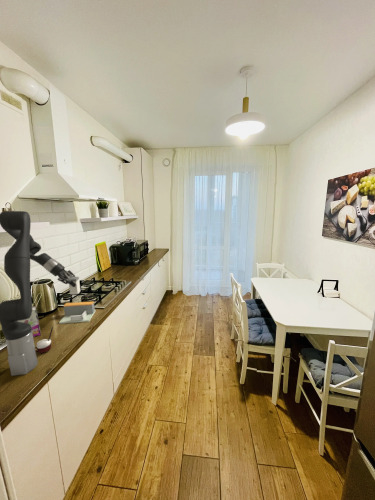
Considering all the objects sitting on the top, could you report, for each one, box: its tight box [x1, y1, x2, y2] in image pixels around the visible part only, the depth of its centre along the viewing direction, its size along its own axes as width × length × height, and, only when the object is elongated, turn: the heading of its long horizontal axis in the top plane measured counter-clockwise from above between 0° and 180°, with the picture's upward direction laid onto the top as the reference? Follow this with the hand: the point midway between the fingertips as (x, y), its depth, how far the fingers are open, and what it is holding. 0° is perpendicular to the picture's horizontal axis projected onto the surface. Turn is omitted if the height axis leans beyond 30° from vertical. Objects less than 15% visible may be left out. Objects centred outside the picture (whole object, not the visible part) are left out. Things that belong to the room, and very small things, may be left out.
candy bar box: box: [18, 306, 42, 338], centre depth 116 cm, size 11×5×16 cm, turn 129°
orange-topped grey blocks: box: [58, 301, 97, 325], centre depth 138 cm, size 14×18×8 cm
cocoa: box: [35, 326, 54, 354], centre depth 105 cm, size 10×6×12 cm, turn 98°
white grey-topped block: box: [68, 276, 81, 295], centre depth 132 cm, size 4×4×10 cm
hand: (76, 284), depth 132 cm, fingers closed on white grey-topped block, 4 cm apart
